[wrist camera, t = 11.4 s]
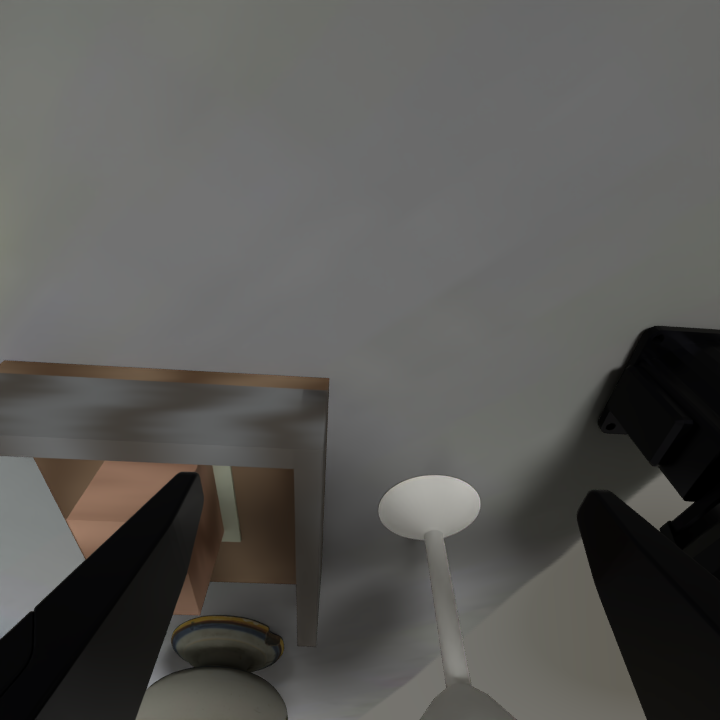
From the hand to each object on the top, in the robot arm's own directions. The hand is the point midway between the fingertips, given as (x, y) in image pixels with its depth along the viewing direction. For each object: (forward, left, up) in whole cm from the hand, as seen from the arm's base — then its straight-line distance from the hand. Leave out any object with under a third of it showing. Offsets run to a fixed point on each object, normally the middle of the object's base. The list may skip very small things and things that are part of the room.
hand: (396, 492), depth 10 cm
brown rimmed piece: (+10, +14, -11) cm, 20 cm away
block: (+10, +13, -10) cm, 19 cm away
